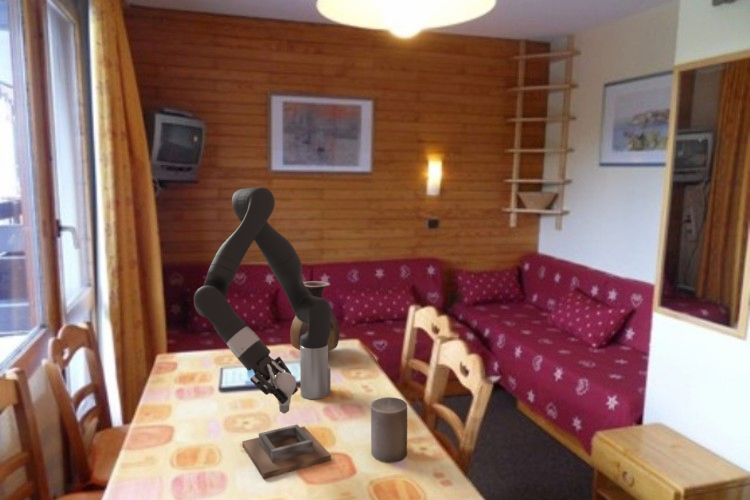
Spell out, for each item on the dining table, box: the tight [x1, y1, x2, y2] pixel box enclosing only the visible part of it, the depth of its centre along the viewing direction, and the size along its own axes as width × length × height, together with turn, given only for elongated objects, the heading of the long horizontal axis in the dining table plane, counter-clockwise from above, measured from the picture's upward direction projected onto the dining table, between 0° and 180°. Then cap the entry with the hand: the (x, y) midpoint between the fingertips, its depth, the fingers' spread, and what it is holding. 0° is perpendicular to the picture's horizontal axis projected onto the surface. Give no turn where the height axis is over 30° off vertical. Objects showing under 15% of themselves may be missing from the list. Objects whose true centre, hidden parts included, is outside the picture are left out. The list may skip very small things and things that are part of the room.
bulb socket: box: [241, 424, 332, 480], centre depth 144 cm, size 18×18×4 cm
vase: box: [289, 280, 340, 352], centre depth 217 cm, size 23×19×30 cm
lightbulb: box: [271, 371, 297, 414], centre depth 142 cm, size 6×6×11 cm
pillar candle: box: [370, 396, 408, 463], centre depth 144 cm, size 10×10×15 cm
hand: (290, 396), depth 142 cm, fingers closed on lightbulb, 5 cm apart
